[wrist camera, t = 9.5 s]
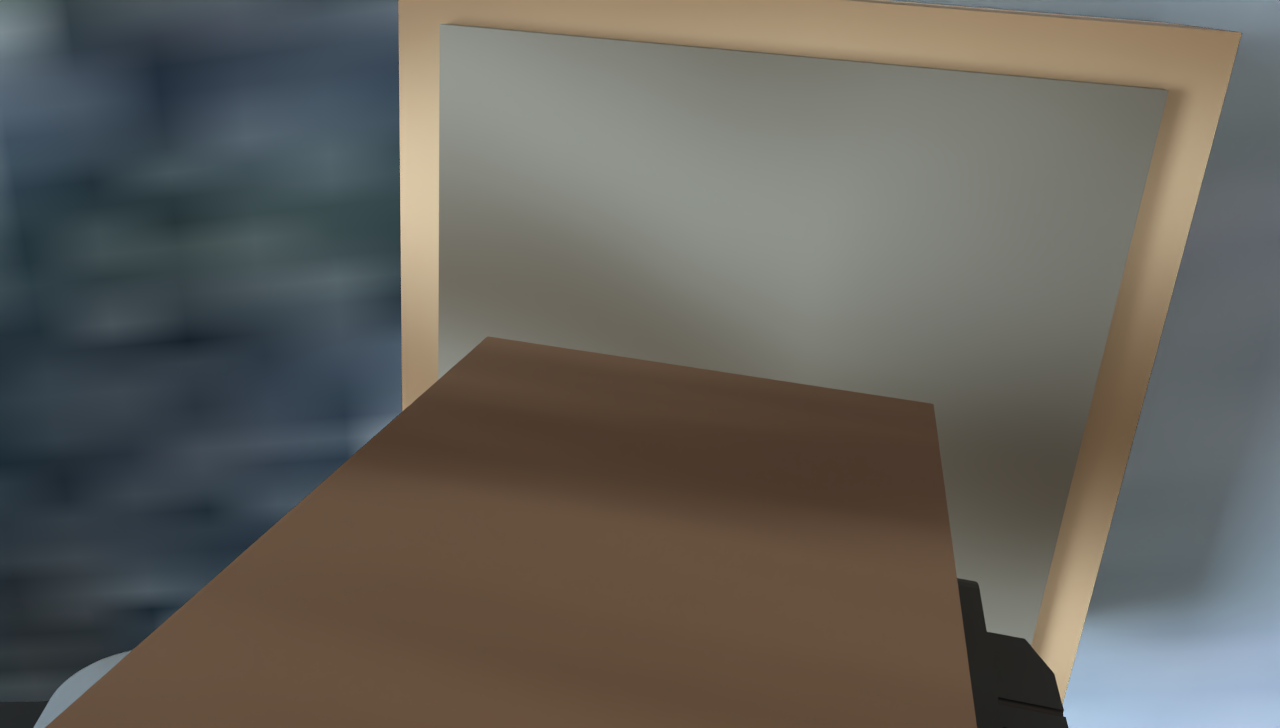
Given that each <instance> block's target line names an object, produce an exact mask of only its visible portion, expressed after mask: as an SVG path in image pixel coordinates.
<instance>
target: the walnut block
mask: <svg viewBox="0 0 1280 728" xmlns="http://www.w3.org/2000/svg"><path fill="white" fill-rule="evenodd" d="M45 728H977V724H976V716H975V709H974V701H973V694H972V686H971V679H970V671H969V664H968V656H967V649H966V642H965V634H964V627H963V619H962V612H961V604H960V597H959V589H958V582H957V575H956V567H955V560H954V552H953V545H952V537H951V530H950V522H949V515H948V507H947V500H946V493H945V485H944V478H943V470H942V463H941V455H940V448H939V440H938V433H937V426H936V418H935V411H934V404H931V403H925V402H918V401H912V400H905V399H898V398H892V397H885V396H879V395H872V394H865V393H859V392H852V391H846V390H839V389H832V388H826V387H819V386H813V385H806V384H799V383H793V382H786V381H780V380H773V379H766V378H760V377H753V376H747V375H740V374H733V373H727V372H720V371H713V370H707V369H700V368H694V367H687V366H680V365H674V364H667V363H661V362H654V361H647V360H641V359H634V358H628V357H621V356H614V355H608V354H601V353H595V352H588V351H581V350H575V349H568V348H562V347H555V346H548V345H542V344H535V343H529V342H522V341H515V340H509V339H502V338H496V337H489V336H487V337H486V338H485V339H484V340H483V341H482V342H481V343H479V344H478V345H477V346H476V347H475V348H474V349H473V350H472V351H470V352H469V353H468V354H467V355H466V356H465V357H464V358H462V359H461V360H460V361H459V362H458V363H457V364H456V365H455V366H453V367H452V368H451V369H450V370H449V371H448V372H447V373H445V374H444V375H443V376H442V377H441V378H440V379H439V380H438V381H436V382H435V383H434V384H433V385H432V386H431V387H430V388H429V389H427V390H426V391H425V392H424V393H423V394H422V395H421V396H419V397H418V398H417V399H416V400H415V401H414V402H413V403H412V404H410V405H409V406H408V407H407V408H406V409H405V410H404V411H402V412H401V413H400V414H399V415H398V416H397V417H396V418H395V419H393V420H392V421H391V422H390V423H389V424H388V425H387V426H386V427H384V428H383V429H382V430H381V431H380V432H379V433H378V434H376V435H375V436H374V437H373V438H372V439H371V440H370V441H369V442H367V443H366V444H365V445H364V446H363V447H362V448H361V449H360V450H358V451H357V452H356V453H355V454H354V455H353V456H352V457H350V458H349V459H348V460H347V461H346V462H345V463H344V464H343V465H341V466H340V467H339V468H338V469H337V470H336V471H335V472H333V473H332V474H331V475H330V476H329V477H328V478H327V479H326V480H324V481H323V482H322V483H321V484H320V485H319V486H318V487H317V488H315V489H314V490H313V491H312V492H311V493H310V494H309V495H307V496H306V497H305V498H304V499H303V500H302V501H301V502H300V503H298V504H297V505H296V506H295V507H294V508H293V509H292V510H291V511H289V512H288V513H287V514H286V515H285V516H284V517H283V518H281V519H280V520H279V521H278V522H277V523H276V524H275V525H274V526H272V527H271V528H270V529H269V530H268V531H267V532H266V533H264V534H263V535H262V536H261V537H260V538H259V539H258V540H257V541H255V542H254V543H253V544H252V545H251V546H250V547H249V548H248V549H246V550H245V551H244V552H243V553H242V554H241V555H240V556H238V557H237V558H236V559H235V560H234V561H233V562H232V563H231V564H229V565H228V566H227V567H226V568H225V569H224V570H223V571H222V572H220V573H219V574H218V575H217V576H216V577H215V578H214V579H212V580H211V581H210V582H209V583H208V584H207V585H206V586H205V587H203V588H202V589H201V590H200V591H199V592H198V593H197V594H195V595H194V596H193V597H192V598H191V599H190V600H189V601H188V602H186V603H185V604H184V605H183V606H182V607H181V608H180V609H179V610H177V611H176V612H175V613H174V614H173V615H172V616H171V617H169V618H168V619H167V620H166V621H165V622H164V623H163V624H162V625H160V626H159V627H158V628H157V629H156V630H155V631H154V632H152V633H151V634H150V635H149V636H148V637H147V638H146V639H145V640H143V641H142V642H141V643H140V644H139V645H138V646H137V647H136V648H134V649H133V650H132V651H131V652H130V653H129V654H128V655H126V656H125V657H124V658H123V659H122V660H121V661H120V662H119V663H117V664H116V665H115V666H114V667H113V668H112V669H111V670H110V671H108V672H107V673H106V674H105V675H104V676H103V677H102V678H100V679H99V680H98V681H97V682H96V683H95V684H94V685H93V686H91V687H90V688H89V689H88V690H87V691H86V692H85V693H83V694H82V695H81V696H80V697H79V698H78V699H77V700H76V701H74V702H73V703H72V704H71V705H70V706H69V707H68V708H67V709H65V710H64V711H63V712H62V713H61V714H60V715H59V716H57V717H56V718H55V719H54V720H53V721H52V722H51V723H50V724H48V725H47V726H46V727H45Z"/></svg>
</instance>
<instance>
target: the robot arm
mask: <svg viewBox="0 0 1280 728" xmlns="http://www.w3.org/2000/svg"><path fill="white" fill-rule="evenodd" d="M957 582H958V589H959V597H960V604H961V612H962V619H963V627H964V634H965V642H966V649H967V656H968V664H969V671H970V679H971V686H972V694H973V701H974V709H975V716H976V724H977V728H1068V725H1067V721H1066V717H1063V711H1064V709H1063V705H1062V702H1061V698H1060V694H1059V690H1058V686H1057V682H1056V678H1055V674H1054V673H1053V672H1052V670H1051V669H1050V668H1049V667H1048V666H1047V664H1046V663H1045V662H1044V661H1043V660H1042V658H1041V657H1040V656H1039V655H1038V654H1037V652H1036V651H1035V650H1034V649H1033V648H1032V646H1031V645H1030V644H1029V643H1028V642H1027V640H1026V639H1024V638H1018V637H1013V636H1008V635H1002V634H997V633H992V632H987V630H986V624H985V618H984V612H983V606H982V601H981V595H980V589H979V585H978V583H977V582H976V581H971V580H966V579H960V578H957ZM131 651H132V650H131ZM131 651H127V652H123V653H119V654H116V655H113V656H110V657H107V658H104V659H102V660H100V661H98V662H95V663H93V664H91V665H89V666H87V667H86V668H84V669H82V670H80V671H79V672H77V673H76V674H74V675H73V676H72V677H70V678H69V679H68V680H66V681H65V682H64V683H63V684H62V685H61V686H60V687H59V688H58V689H57V690H56V692H55V693H54V694H53V696H52V697H51V699H50V700H49V701H45V702H3V703H0V728H45V727H46V726H47V725H48V724H50V723H51V722H52V721H53V720H54V719H55V718H56V717H57V716H59V715H60V714H61V713H62V712H63V711H64V710H65V709H67V708H68V707H69V706H70V705H71V704H72V703H73V702H74V701H76V700H77V699H78V698H79V697H80V696H81V695H82V694H83V693H85V692H86V691H87V690H88V689H89V688H90V687H91V686H93V685H94V684H95V683H96V682H97V681H98V680H99V679H100V678H102V677H103V676H104V675H105V674H106V673H107V672H108V671H110V670H111V669H112V668H113V667H114V666H115V665H116V664H117V663H119V662H120V661H121V660H122V659H123V658H124V657H125V656H126V655H128V654H129V653H130V652H131Z"/></svg>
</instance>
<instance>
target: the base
mask: <svg viewBox="0 0 1280 728" xmlns="http://www.w3.org/2000/svg"><path fill="white" fill-rule="evenodd" d="M398 1H399V108H400V215H401V321H402V411H404V410H405V409H406V408H407V407H408V406H409V405H410V404H412V403H413V402H414V401H415V400H416V399H417V398H418V397H419V396H421V395H422V394H423V393H424V392H425V391H426V390H427V389H429V388H430V387H431V386H432V385H433V384H434V383H435V382H436V381H438V380H439V379H440V378H441V377H442V376H443V375H444V374H445V373H447V372H448V371H449V370H450V369H451V368H452V367H453V366H455V365H456V364H457V363H458V362H459V361H460V360H461V359H462V358H464V357H465V356H466V355H467V354H468V353H469V352H470V351H472V350H473V349H474V348H475V347H476V346H477V345H478V344H479V343H481V342H482V341H483V340H484V339H485V338H486V337H487V336H489V337H496V338H502V339H509V340H515V341H522V342H529V343H535V344H542V345H548V346H555V347H562V348H568V349H575V350H581V351H588V352H595V353H601V354H608V355H614V356H621V357H628V358H634V359H641V360H647V361H654V362H661V363H667V364H674V365H680V366H687V367H694V368H700V369H707V370H713V371H720V372H727V373H733V374H740V375H747V376H753V377H760V378H766V379H773V380H780V381H786V382H793V383H799V384H806V385H813V386H819V387H826V388H832V389H839V390H846V391H852V392H859V393H865V394H872V395H879V396H885V397H892V398H898V399H905V400H912V401H918V402H925V403H931V404H934V411H935V418H936V426H937V433H938V440H939V448H940V455H941V463H942V470H943V478H944V485H945V493H946V500H947V507H948V515H949V522H950V530H951V537H952V545H953V552H954V560H955V567H956V575H957V578H960V579H966V580H971V581H976V582H977V583H978V585H979V589H980V595H981V601H982V606H983V612H984V618H985V624H986V630H987V632H992V633H997V634H1002V635H1008V636H1013V637H1018V638H1024V639H1026V640H1027V642H1028V643H1029V644H1030V645H1031V646H1032V648H1033V649H1034V650H1035V651H1036V652H1037V654H1038V655H1039V656H1040V657H1041V658H1042V660H1043V661H1044V662H1045V663H1046V664H1047V666H1048V667H1049V668H1050V669H1051V670H1052V672H1053V673H1054V674H1055V678H1056V682H1057V686H1058V690H1059V694H1060V698H1061V702H1062V705H1063V701H1064V697H1065V693H1066V690H1067V686H1068V682H1069V678H1070V675H1071V671H1072V667H1073V663H1074V660H1075V656H1076V652H1077V648H1078V645H1079V641H1080V637H1081V633H1082V630H1083V626H1084V622H1085V619H1086V615H1087V611H1088V607H1089V604H1090V600H1091V596H1092V592H1093V589H1094V585H1095V581H1096V577H1097V574H1098V570H1099V566H1100V562H1101V559H1102V555H1103V551H1104V547H1105V544H1106V540H1107V536H1108V532H1109V529H1110V525H1111V521H1112V517H1113V514H1114V510H1115V506H1116V502H1117V499H1118V495H1119V491H1120V487H1121V484H1122V480H1123V476H1124V472H1125V469H1126V465H1127V461H1128V458H1129V454H1130V450H1131V446H1132V443H1133V439H1134V435H1135V431H1136V428H1137V424H1138V420H1139V416H1140V413H1141V409H1142V405H1143V401H1144V398H1145V394H1146V390H1147V386H1148V383H1149V379H1150V375H1151V371H1152V368H1153V364H1154V360H1155V356H1156V353H1157V349H1158V345H1159V341H1160V338H1161V334H1162V330H1163V326H1164V323H1165V319H1166V315H1167V312H1168V308H1169V304H1170V300H1171V297H1172V293H1173V289H1174V285H1175V282H1176V278H1177V274H1178V270H1179V267H1180V263H1181V259H1182V255H1183V252H1184V248H1185V244H1186V240H1187V237H1188V233H1189V229H1190V225H1191V222H1192V218H1193V214H1194V210H1195V207H1196V203H1197V199H1198V195H1199V192H1200V188H1201V184H1202V180H1203V177H1204V173H1205V169H1206V166H1207V162H1208V158H1209V154H1210V151H1211V147H1212V143H1213V139H1214V136H1215V132H1216V128H1217V124H1218V121H1219V117H1220V113H1221V109H1222V106H1223V102H1224V98H1225V94H1226V91H1227V87H1228V83H1229V79H1230V76H1231V72H1232V68H1233V64H1234V61H1235V57H1236V53H1237V49H1238V46H1239V42H1240V38H1241V34H1242V33H1241V32H1233V31H1225V30H1218V29H1210V28H1203V27H1195V26H1188V25H1180V24H1172V23H1164V22H1152V21H1140V20H1127V19H1115V18H1102V17H1090V16H1078V15H1065V14H1053V13H1040V12H1028V11H1015V10H1003V9H991V8H978V7H966V6H953V5H941V4H929V3H916V2H904V1H891V0H398Z"/></svg>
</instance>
